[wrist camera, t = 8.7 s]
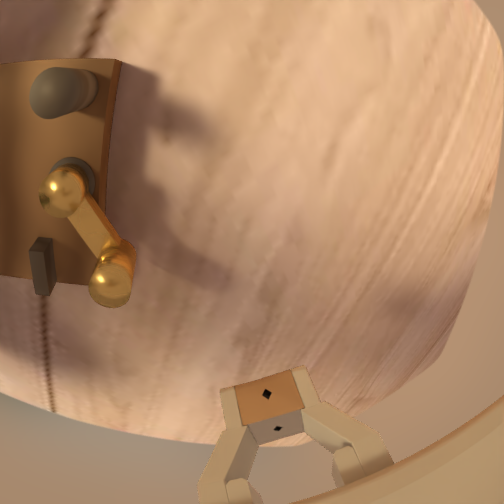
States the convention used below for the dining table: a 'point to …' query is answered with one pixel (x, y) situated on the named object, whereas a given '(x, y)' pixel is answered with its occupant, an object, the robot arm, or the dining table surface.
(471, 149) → the dining table surface
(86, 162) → the stool seat
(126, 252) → the gold bone
